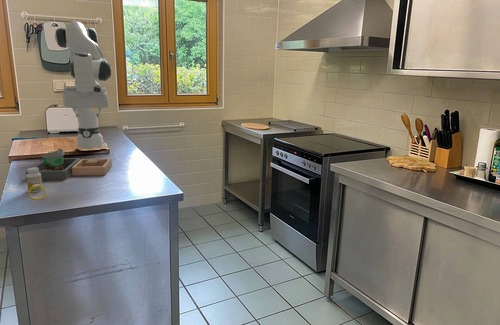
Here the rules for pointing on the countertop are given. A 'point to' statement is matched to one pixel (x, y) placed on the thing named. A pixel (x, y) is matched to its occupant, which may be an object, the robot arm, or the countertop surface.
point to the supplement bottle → (34, 179)
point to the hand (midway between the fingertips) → (88, 117)
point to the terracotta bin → (94, 170)
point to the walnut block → (92, 163)
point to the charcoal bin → (60, 173)
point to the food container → (53, 160)
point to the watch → (36, 187)
